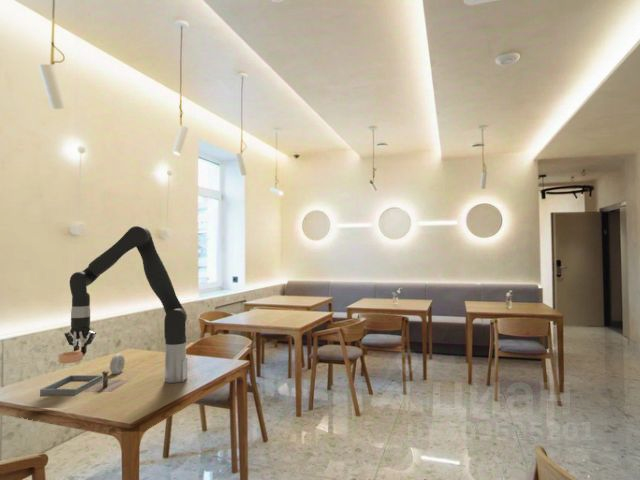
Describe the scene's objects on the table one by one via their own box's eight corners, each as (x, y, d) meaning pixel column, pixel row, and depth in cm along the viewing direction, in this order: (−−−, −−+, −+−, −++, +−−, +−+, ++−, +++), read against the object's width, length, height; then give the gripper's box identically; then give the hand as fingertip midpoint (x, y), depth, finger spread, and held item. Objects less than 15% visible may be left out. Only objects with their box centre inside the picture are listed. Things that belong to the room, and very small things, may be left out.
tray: (102, 381, 188) (102, 375, 188) (75, 396, 168) (76, 389, 168) (70, 381, 188) (70, 375, 188) (39, 396, 168) (40, 389, 168)
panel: (129, 382, 187) (130, 365, 188) (111, 393, 171) (111, 375, 172) (104, 382, 188) (104, 365, 188) (83, 393, 172) (83, 376, 172)
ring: (91, 355, 185) (91, 349, 185) (74, 363, 172) (74, 356, 173) (73, 355, 185) (73, 349, 185) (54, 363, 173) (54, 356, 173)
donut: (115, 377, 195) (115, 356, 195) (108, 377, 195) (108, 356, 195) (126, 371, 205) (126, 351, 205) (119, 371, 205) (119, 351, 205)
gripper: (100, 314, 188) (99, 352, 187) (70, 314, 188) (69, 352, 187) (91, 317, 180) (90, 356, 180) (60, 317, 181) (59, 356, 180)
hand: (80, 354), depth 184 cm, fingers closed on ring, 2 cm apart
